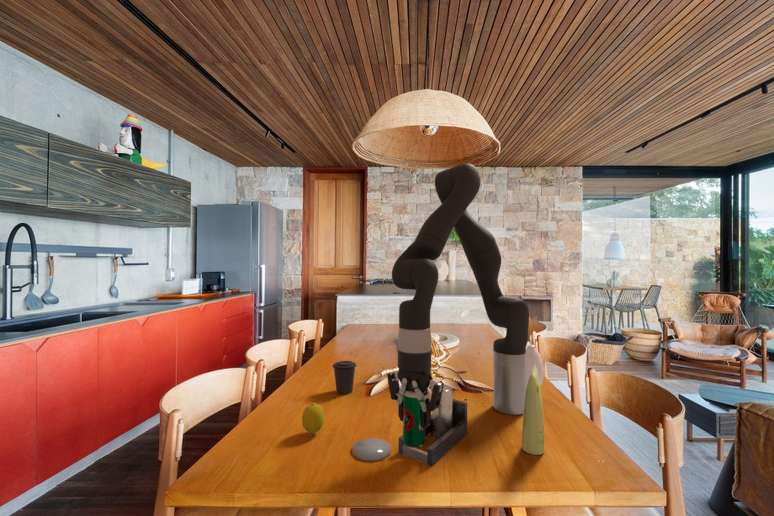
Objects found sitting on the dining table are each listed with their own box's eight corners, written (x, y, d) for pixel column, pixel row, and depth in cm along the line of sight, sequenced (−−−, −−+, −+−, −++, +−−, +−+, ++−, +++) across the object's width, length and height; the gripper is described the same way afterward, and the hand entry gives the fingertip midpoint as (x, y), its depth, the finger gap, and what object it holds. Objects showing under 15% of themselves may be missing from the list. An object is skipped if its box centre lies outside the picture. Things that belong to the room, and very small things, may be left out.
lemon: (327, 430, 92) (328, 400, 92) (316, 441, 87) (317, 408, 87) (309, 427, 94) (309, 397, 94) (297, 437, 89) (297, 405, 89)
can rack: (436, 424, 96) (436, 394, 96) (467, 433, 91) (467, 402, 91) (398, 452, 82) (398, 418, 82) (432, 466, 76) (432, 429, 76)
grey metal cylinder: (438, 429, 93) (438, 383, 93) (456, 435, 90) (456, 388, 90) (428, 437, 89) (428, 389, 89) (446, 443, 86) (446, 394, 86)
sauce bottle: (515, 389, 122) (514, 337, 122) (525, 384, 127) (525, 334, 127) (537, 396, 116) (537, 341, 116) (547, 390, 121) (547, 337, 121)
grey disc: (369, 437, 89) (369, 434, 89) (398, 448, 84) (398, 446, 84) (344, 452, 82) (344, 449, 82) (374, 466, 76) (374, 463, 76)
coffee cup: (361, 390, 121) (361, 361, 121) (346, 398, 114) (346, 367, 114) (342, 385, 125) (342, 357, 125) (327, 393, 118) (327, 363, 119)
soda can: (424, 450, 76) (424, 394, 76) (401, 447, 77) (401, 392, 77) (426, 438, 81) (426, 386, 81) (404, 436, 82) (405, 384, 82)
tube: (551, 455, 81) (551, 370, 81) (531, 458, 79) (531, 371, 80) (535, 443, 86) (535, 362, 86) (517, 445, 85) (516, 364, 85)
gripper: (451, 349, 78) (450, 426, 78) (398, 340, 87) (397, 409, 87) (434, 356, 72) (433, 440, 72) (379, 345, 81) (378, 420, 81)
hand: (414, 423), depth 79 cm, fingers closed on soda can, 5 cm apart
